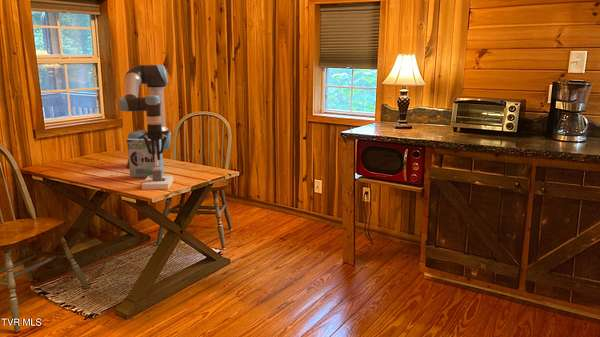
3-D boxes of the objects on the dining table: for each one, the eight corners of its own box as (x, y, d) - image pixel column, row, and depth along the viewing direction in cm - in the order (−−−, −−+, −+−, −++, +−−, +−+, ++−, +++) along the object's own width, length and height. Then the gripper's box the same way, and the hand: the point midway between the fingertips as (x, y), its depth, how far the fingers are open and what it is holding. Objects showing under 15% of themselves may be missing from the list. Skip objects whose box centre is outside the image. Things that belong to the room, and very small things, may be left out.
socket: (148, 181, 283) (148, 174, 282) (173, 180, 284) (172, 174, 283) (141, 189, 265) (141, 183, 264) (168, 189, 267) (167, 182, 266)
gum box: (163, 176, 293) (161, 138, 288) (160, 178, 288) (157, 140, 283) (133, 175, 296) (130, 137, 291) (129, 177, 291) (126, 139, 286)
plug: (154, 184, 276) (153, 167, 274) (163, 184, 277) (161, 166, 274) (153, 186, 272) (152, 169, 269) (161, 186, 272) (160, 168, 270)
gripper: (140, 124, 262) (143, 167, 268) (165, 124, 264) (167, 167, 269) (143, 122, 270) (146, 164, 275) (167, 122, 271) (169, 164, 276)
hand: (156, 165), depth 272 cm, fingers closed
